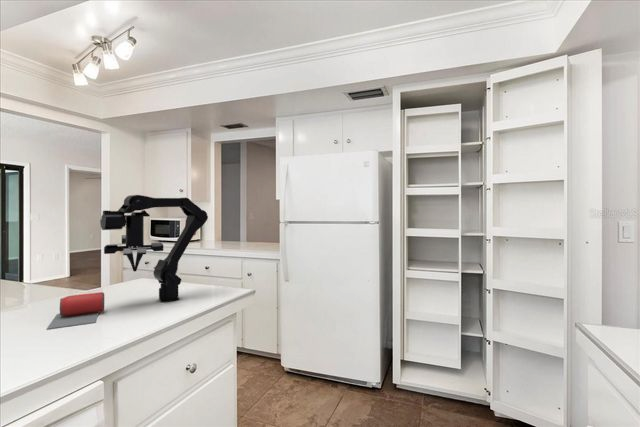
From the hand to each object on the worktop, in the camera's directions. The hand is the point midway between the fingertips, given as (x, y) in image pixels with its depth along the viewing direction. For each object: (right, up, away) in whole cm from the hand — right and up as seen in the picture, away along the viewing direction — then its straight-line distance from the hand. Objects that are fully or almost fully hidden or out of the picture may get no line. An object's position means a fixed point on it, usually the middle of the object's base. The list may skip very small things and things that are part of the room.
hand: (134, 271), depth 120 cm
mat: (-12, -13, -14) cm, 22 cm away
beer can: (-7, -10, -6) cm, 13 cm away
